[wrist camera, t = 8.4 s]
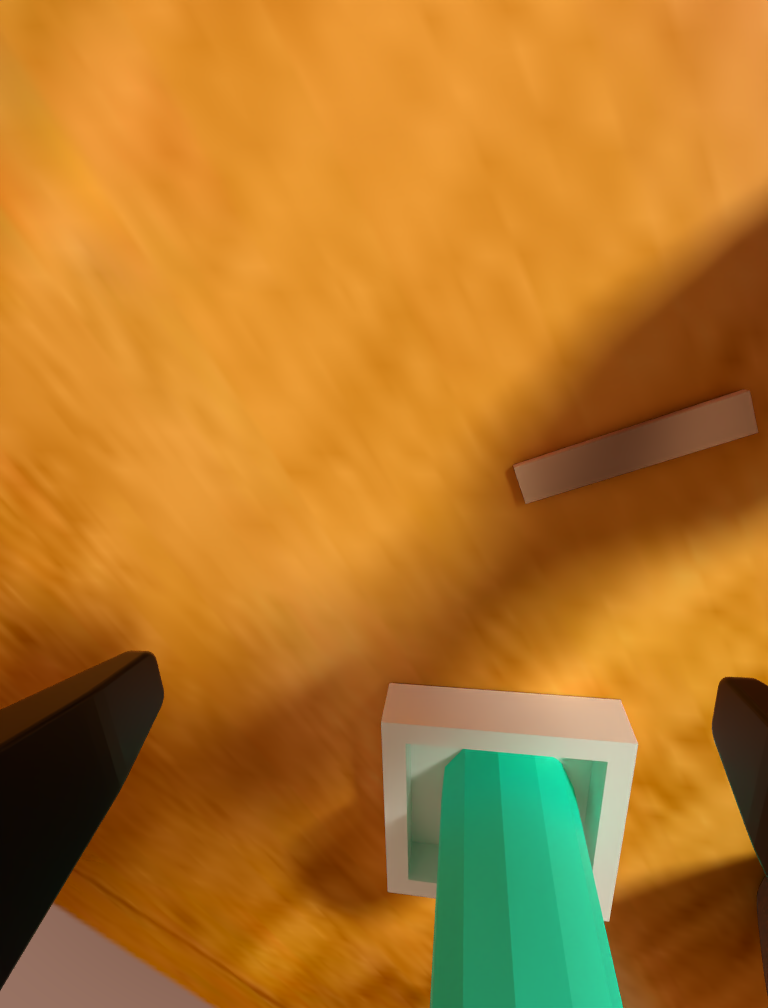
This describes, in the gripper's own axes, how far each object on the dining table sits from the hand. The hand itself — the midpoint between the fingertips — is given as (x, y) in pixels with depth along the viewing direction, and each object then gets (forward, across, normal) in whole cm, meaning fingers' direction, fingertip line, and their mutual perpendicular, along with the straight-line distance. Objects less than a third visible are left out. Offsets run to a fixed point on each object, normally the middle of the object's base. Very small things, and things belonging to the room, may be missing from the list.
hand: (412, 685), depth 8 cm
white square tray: (+13, -2, +15) cm, 20 cm away
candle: (+12, -2, +15) cm, 20 cm away
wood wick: (+13, -6, -1) cm, 14 cm away
